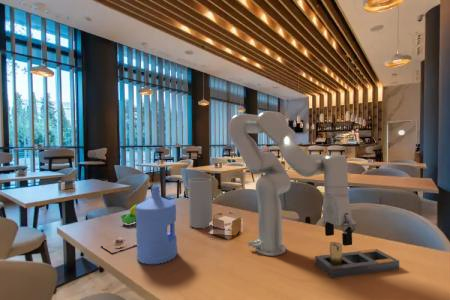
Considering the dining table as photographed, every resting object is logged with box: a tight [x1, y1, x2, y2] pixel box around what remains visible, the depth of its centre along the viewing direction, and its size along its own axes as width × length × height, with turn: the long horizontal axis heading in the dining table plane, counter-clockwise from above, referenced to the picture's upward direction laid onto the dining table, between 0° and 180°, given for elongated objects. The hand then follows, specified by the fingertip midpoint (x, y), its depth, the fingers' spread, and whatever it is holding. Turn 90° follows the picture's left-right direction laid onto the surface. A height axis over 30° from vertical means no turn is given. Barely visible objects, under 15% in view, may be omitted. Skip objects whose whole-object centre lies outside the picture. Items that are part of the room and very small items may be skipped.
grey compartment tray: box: [314, 248, 400, 280], centre depth 92 cm, size 26×10×3 cm, turn 101°
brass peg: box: [329, 241, 343, 266], centre depth 90 cm, size 4×4×9 cm
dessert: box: [114, 236, 125, 246], centre depth 114 cm, size 12×12×5 cm
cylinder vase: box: [187, 177, 213, 229], centre depth 140 cm, size 12×12×25 cm
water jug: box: [135, 185, 178, 265], centre depth 103 cm, size 16×16×28 cm
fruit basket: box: [120, 203, 139, 224], centre depth 146 cm, size 11×9×11 cm
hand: (338, 239), depth 89 cm, fingers open, 9 cm apart
